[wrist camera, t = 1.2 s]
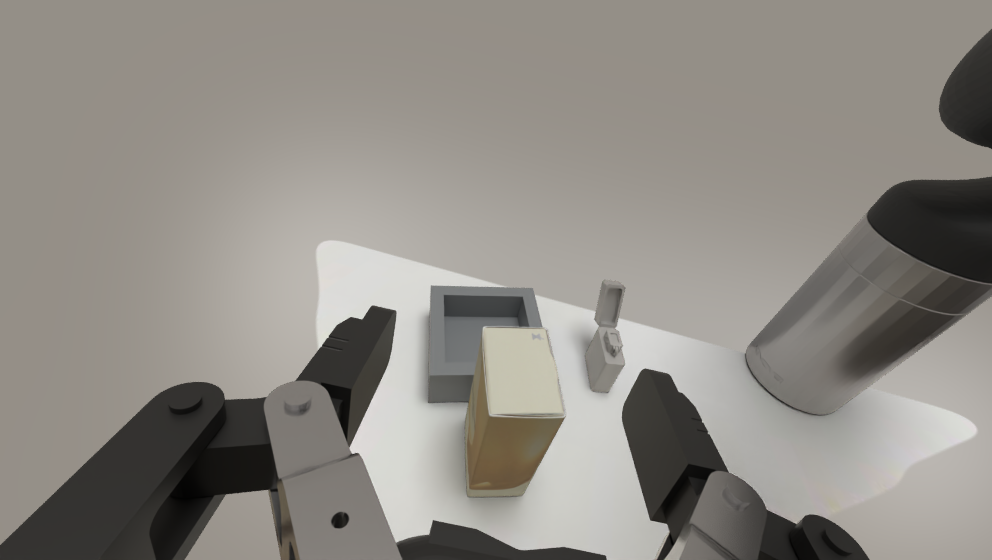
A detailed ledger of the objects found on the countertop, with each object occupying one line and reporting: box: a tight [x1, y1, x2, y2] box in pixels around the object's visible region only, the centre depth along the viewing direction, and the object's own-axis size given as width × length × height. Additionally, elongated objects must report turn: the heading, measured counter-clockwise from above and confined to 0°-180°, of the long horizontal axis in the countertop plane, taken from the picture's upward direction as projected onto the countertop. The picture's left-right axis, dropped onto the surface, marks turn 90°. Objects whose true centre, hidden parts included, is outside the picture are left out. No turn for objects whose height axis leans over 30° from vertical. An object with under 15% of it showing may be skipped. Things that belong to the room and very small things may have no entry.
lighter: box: [585, 280, 625, 393], centre depth 37 cm, size 7×2×8 cm, turn 179°
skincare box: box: [465, 326, 566, 497], centre depth 27 cm, size 6×4×12 cm
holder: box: [428, 286, 542, 403], centre depth 37 cm, size 10×10×4 cm
